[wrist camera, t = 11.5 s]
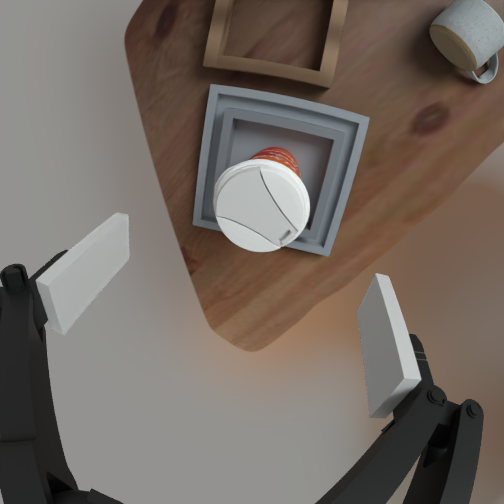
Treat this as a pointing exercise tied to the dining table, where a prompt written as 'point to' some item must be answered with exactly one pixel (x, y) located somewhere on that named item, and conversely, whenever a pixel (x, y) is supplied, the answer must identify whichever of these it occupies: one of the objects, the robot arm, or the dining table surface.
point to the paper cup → (262, 201)
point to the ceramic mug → (469, 36)
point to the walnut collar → (322, 78)
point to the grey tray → (291, 139)
